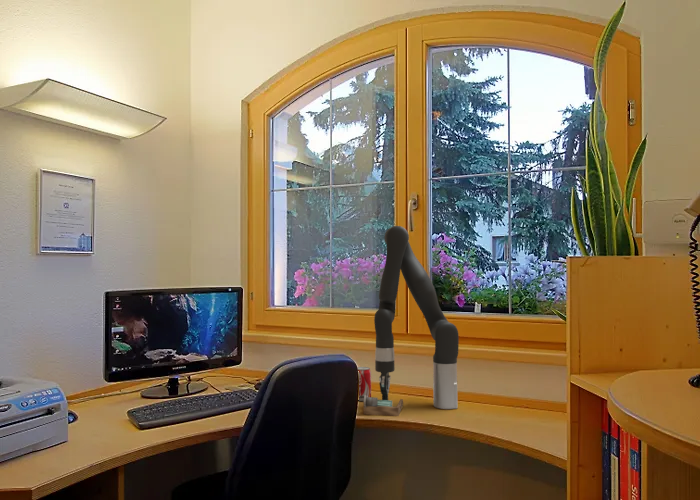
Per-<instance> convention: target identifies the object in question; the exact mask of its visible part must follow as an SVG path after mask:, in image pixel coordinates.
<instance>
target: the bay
mask: <svg viewBox="0 0 700 500" xmlns="http://www.w3.org/2000/svg"><path fill="white" fill-rule="evenodd" d="M360 398H363V399H364V401H363V415H370V416H371V415H372V416H373V415H375V416H392V417H394V416H395V417H399V415H400V414H401V411H402V408H403V407H404V399H402V398H400V399H399V401H398V403H397V405H396V406H392V407H387V406H377V404H378V400H379V399H378V397H376V396H375V397H372V396H371V397H367V395H365V396H360Z"/></svg>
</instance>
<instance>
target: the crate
mask: <svg viewBox="0 0 700 500" xmlns="http://www.w3.org/2000/svg"><path fill="white" fill-rule="evenodd" d="M377 406H387V407H393V400H391V399H390V400H389V399H388V400H382V399H378V404H377Z"/></svg>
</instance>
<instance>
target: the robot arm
mask: <svg viewBox="0 0 700 500" xmlns="http://www.w3.org/2000/svg"><path fill="white" fill-rule="evenodd" d="M409 241H410V235H409V232H408V230H407V229H406V228H405V227H404V226H401V225H394V226H391V227H389V228H388V229H387V230H386V231H385V233H384V243H385V245H386V255H385V256H386V258H385V264H384V267H383V272H382V276H381V281H380V285H379V292H378V299H379V302H378V309H377V310H376V312H375V314H374V317H373V318H374V319H373V321H374V330H375V331H374V333H375V352H374V357H375V359H374V361H375V362H374V363H375V364H374V365H375V366H374V367H375V368H374V369H375V372H378V373H380V376H379V377H378V379H379V389H380V390H379V391H380V394H381V400H389V392H390V387H391V375H390V373H393V372H395V368H396V367H395V348H394V347H395V346H394V345H395V343H394V339H395V338H394V334H393V322H394V320H395V318H396V309H397V307H396V306H397V305H396V303H397V301H396V300H397V296H398V293H399V292H398V291H399V284H400V277H401V276H400V274H402V277H403V280H404V281H405V283H406V285H407V288H408V291H409V292H410V294H411V296H412V298H413V299H414V301H415V303H416V305H417V307H418V308H419V310H420V311H421V313H422V315H423V317H424V320H425V321H426V325H427V326H428V329H429V332H430V334H431V335H430V336H431V337H432V339H433V340H434V354H433V356H432V365H433V366H432V367H433V368H432V369H433V370H432V372H433V375H432V376H433V377H432V378H433V383H432V385H433V387H432V389H433V390H432V391H433V400H432V401H433V407H435V408H437V409H442V410H443V409H444V410H452V409H458V355H459V343H460V342H459V341H460V340H459V339H460V337H459V331H458V328H457V326H456V325H455V324H454V323H453V322H450V321H448V319H447V317H446V316H445V314H444V312H443V311H442V309H441V307H440V304H439V299H438V296H437V292H436V289H435V286H434V284H433V283H432V280H431V278H430V276H429V275H428V273H427V271H426V269H425V267H424V266H423V264H422V263H420V261H419V259H418V258H417V257H416V255H415V253H414V251H413V249H412V247H411V245H410V242H409Z"/></svg>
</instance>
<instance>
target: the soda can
mask: <svg viewBox="0 0 700 500" xmlns="http://www.w3.org/2000/svg"><path fill="white" fill-rule="evenodd" d="M357 367H358V371H359V401H358V402H364V399H363V398H360V396H365V395H367V397H372V371H371V368H370V367H369V366H357Z"/></svg>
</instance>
